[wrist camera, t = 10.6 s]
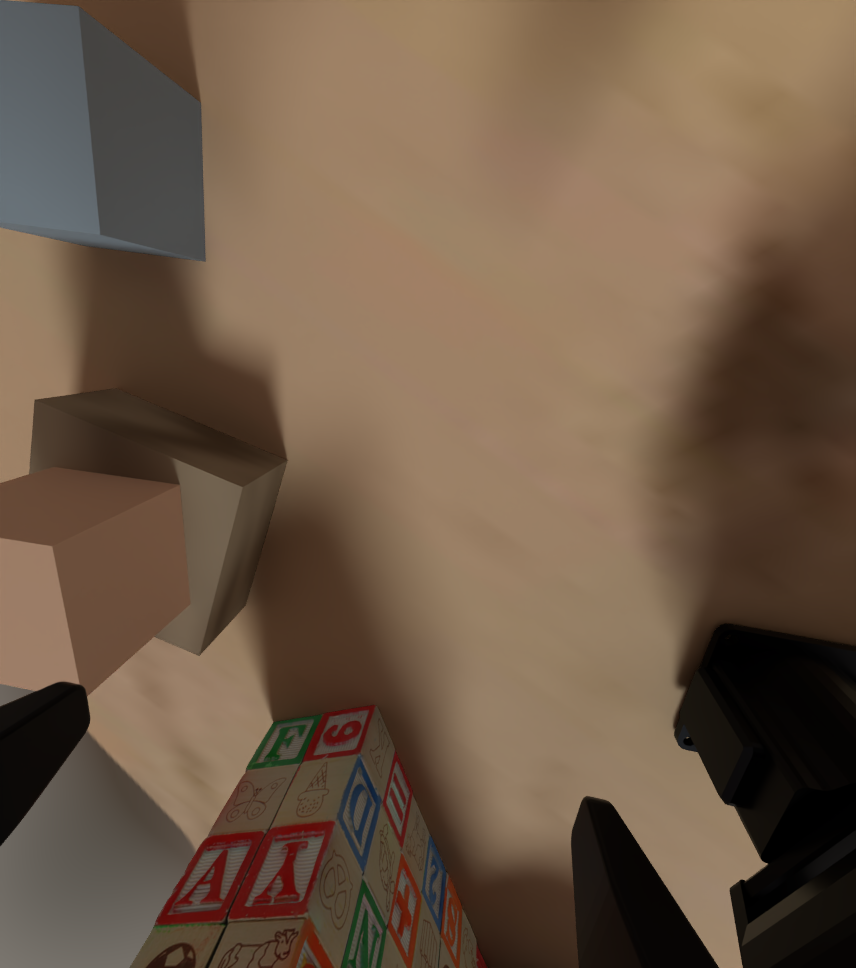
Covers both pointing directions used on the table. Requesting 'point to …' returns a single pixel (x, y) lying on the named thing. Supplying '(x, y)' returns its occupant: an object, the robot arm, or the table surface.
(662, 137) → the table surface
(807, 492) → the table surface
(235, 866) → the stack of blocks
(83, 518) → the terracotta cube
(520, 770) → the table surface
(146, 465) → the taupe faceted block
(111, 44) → the slate cube
